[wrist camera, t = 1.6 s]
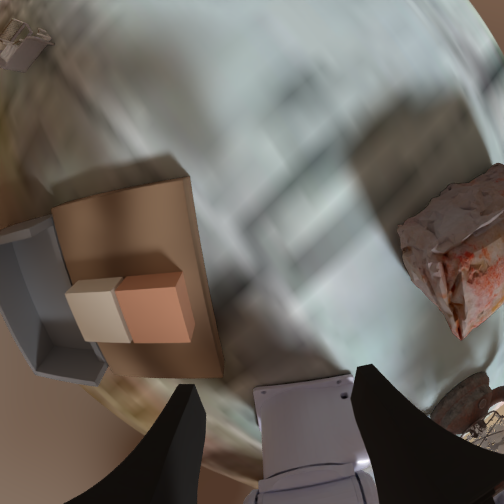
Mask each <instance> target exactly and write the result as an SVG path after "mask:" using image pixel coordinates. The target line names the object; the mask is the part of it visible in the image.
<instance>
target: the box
mask: <svg viewBox="0 0 504 504" xmlns="http://www.w3.org/2000/svg"><path fill="white" fill-rule="evenodd" d="M72 286H73V284H72V281H71V278H70V275H69V272H68V269H67V266H66V263H65V260H64V257H63V253H62V250H61V247H60V243H59V240H58V236H57V232H56V228H55V224H54V220H53V216H52V214H50V215H46V216H42V217H39V218H35V219H32V220H28V221H25V222H22V223H18V224H15V225H12V226H9V227H6V228H4V229H2V230H0V312H1V314H2V317H3V319H4V321H5V323H6V325H7V327H8V329H9V331H10V333H11V335H12V337H13V338H14V340H15V342H16V344H17V346H18V347H19V349H20V351H21V353H22V354H23V356H24V358H25V359H26V361H27V363H28V364H29V366H30V368H31V369H32V370H33V372H34V374H35V375H38V376H42V377H46V378H51V379H56V380H60V381H66V382H71V383H77V384H83V385H89V386H96V387H98V385H99V383H100V381H101V379H102V377H103V375H104V373H105V371H106V370H107V368H108V366H109V365H108V363H107V361H106V360H105V358H104V356H103V354H102V352H101V350H100V348H99V346H98V343H97V342H88V341H85V340H84V338H83V336H82V333H81V331H80V329H79V327H78V325H77V323H76V320H75V318H74V316H73V313H72V311H71V309H70V306H69V304H68V301H67V299H66V296H65V293H66V292H67V291H68V290H69V289H70V288H71V287H72Z"/></svg>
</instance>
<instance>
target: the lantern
mask: <svg viewBox="0 0 504 504" xmlns="http://www.w3.org/2000/svg"><path fill="white" fill-rule="evenodd" d="M501 401H503V402H504V386H500V387H497V388H495V389H493V390H491V388H490V387H489V377H488V376H487V374H486V373H484V372H480V373H476V374H474V375H472V376H470V377H469V378H467V379H465V380H464V381H462V382H461V383H460V384H459V385H457V386H456V387H455V388H454V389H452V390H451V391H450V392H449V393H448V394H447V395H446V396H445V397H444V398H443V399H442V400H441V401H440V402H439V404H438V405H437V406H436V407H435V409H434V410H433V412H432V415H431V419H432V420H433V421H434V422H436V423H437V424H439V425H440V426H442V427H443V428H445V429H446V430H448V431H449V432H451V433H453V434H454V435H456V434H462V435H461V437H460V438H463V437H462V436H463V435H464V434H465V433H467V432H470V433H471V435H472V436H471V435H470V436H467V439H466V440H468V439H469V440H471V439H472V438H473V437H474V438H476V439H475V441H473V442H472V443H473V444H474V445H477V444H479V443H480V445H481V447H482V448H485V449H487V448H486V447H490V449H489V450H492V451H493V450H494V452H495V450H496V449H497V450H498V451H497V450H496V452H498V453H501V454H504V439H503V438H504V426H503V425H502V424H501V425H500V422H501V421H503V424H504V420H502V418H504V416H503V415H502V416H500V415H499V414H498V412H497V411H491V412H489V413H487V412H488V410H489V408H490V407H491V406H493V405H494V404H496V403H498V402H501ZM492 412H495V413H497V415H498V416H497V415H495V413H494V415H493V417H494V416H496V417H499V418H498V420H497V422H498V421H499V419H500V418H501V421H500V422H499V424H497V425H496V423H497V422H496V423H495V424H494V426H493V427H491V426H490V428H489V430H488V431H489V432H487V430H486V427H487V426H486V425H487V424H488V423H489V422H490V421H491V420H492V418H493V417H492V418H491V419H490V420H489V422H488V423H487V424H486V423H485V422H484V418H485V417H486V415H488V414H489V415H490V413H492ZM493 428H494V429H495V432H494V430H493ZM492 430H493V432H492ZM485 431H486V433H488V434H489V433H492V434H490V435H488V434H486V433H485ZM496 434H497V435H496ZM487 435H488V436H487ZM491 435H492V436H491ZM489 436H490V437H489ZM498 436H499V437H498ZM471 437H472V438H471ZM479 437H481V438H480V439H479ZM486 437H488V438H486ZM477 438H478V439H477ZM482 439H483V440H482ZM469 440H468V442H469ZM488 440H489V442H488ZM494 440H495V441H494ZM481 441H482V442H481ZM483 441H484V442H483ZM489 443H490V444H489ZM494 443H495V444H494ZM487 444H489V445H490V446H489V445H487ZM492 444H494V445H492ZM480 445H479V447H480ZM487 450H488V449H487ZM494 490H495V494H494V495H493V496H492V497H494V496H496V495H497V494H499V493H500V492H501V491H503V490H504V481H503V482H501V483H500V484H499V485H498V486H496V487H495V488H494Z"/></svg>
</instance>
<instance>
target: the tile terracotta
mask: <svg viewBox="0 0 504 504" xmlns="http://www.w3.org/2000/svg"><path fill="white" fill-rule="evenodd" d="M115 294H116V297H117V300H118V302H119V305H120V308H121V311H122V313H123V316H124V319H125V321H126V324H127V327H128V329H129V332H130V334H131V337H132V339H133V341H134V343H189V342H191V339H192V335H193V331H194V327H195V321H194V317H193V313H192V309H191V305H190V301H189V296H188V292H187V288H186V284H185V279H184V275H183V271H182V272H171V273H160V274H149V275H138V276H126V278H125V279H124V280H123V281H122V283H121V284H120V285H119V286H118V287H117V289H116V290H115Z"/></svg>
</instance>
